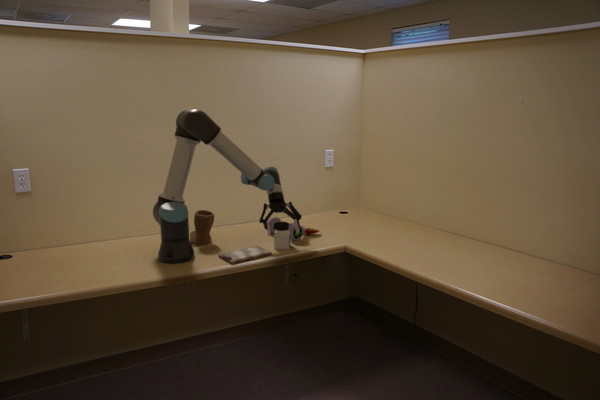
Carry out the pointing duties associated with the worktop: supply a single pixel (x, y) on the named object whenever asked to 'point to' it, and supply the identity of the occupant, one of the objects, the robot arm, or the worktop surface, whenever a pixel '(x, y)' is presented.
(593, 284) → the worktop surface
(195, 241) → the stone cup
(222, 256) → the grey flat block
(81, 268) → the worktop surface
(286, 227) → the medicine bottle
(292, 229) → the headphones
